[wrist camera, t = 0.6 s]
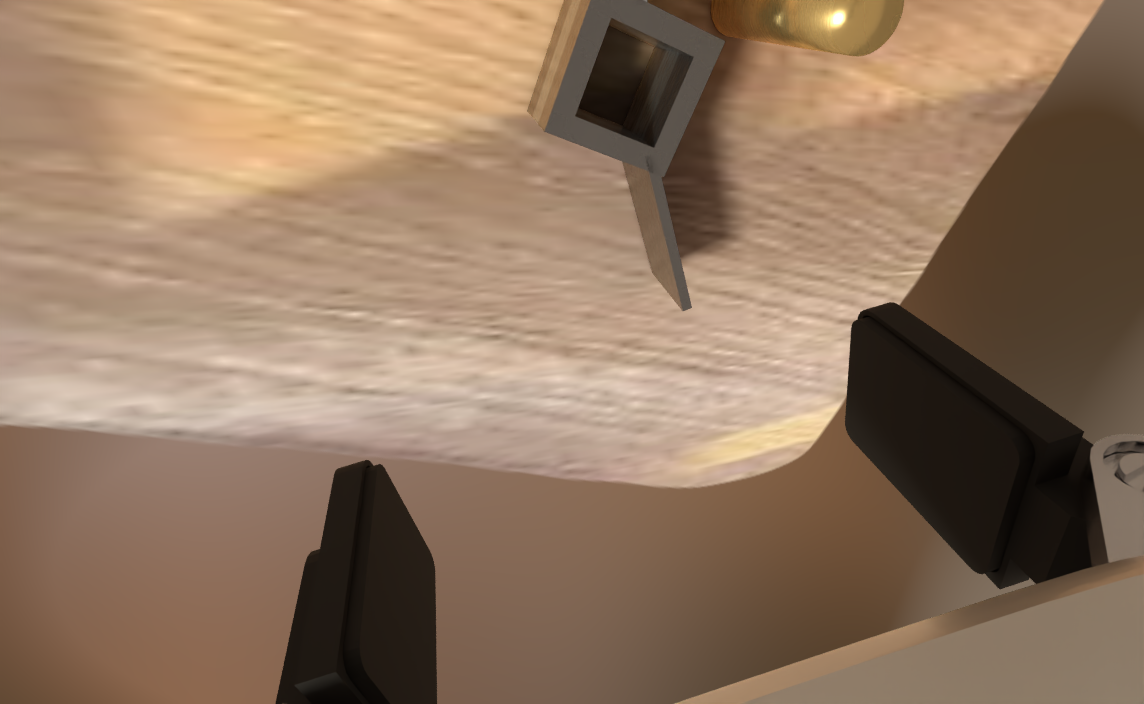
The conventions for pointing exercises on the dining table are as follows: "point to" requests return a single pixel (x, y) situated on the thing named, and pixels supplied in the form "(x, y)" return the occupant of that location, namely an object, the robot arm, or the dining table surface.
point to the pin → (811, 23)
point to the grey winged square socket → (652, 114)
